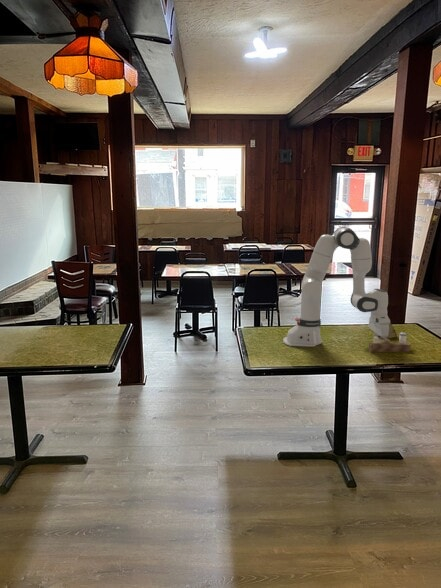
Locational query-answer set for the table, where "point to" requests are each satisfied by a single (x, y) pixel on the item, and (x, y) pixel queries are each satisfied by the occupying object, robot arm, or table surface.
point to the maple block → (380, 340)
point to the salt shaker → (402, 337)
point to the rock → (391, 332)
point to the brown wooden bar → (389, 347)
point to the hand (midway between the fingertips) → (377, 340)
